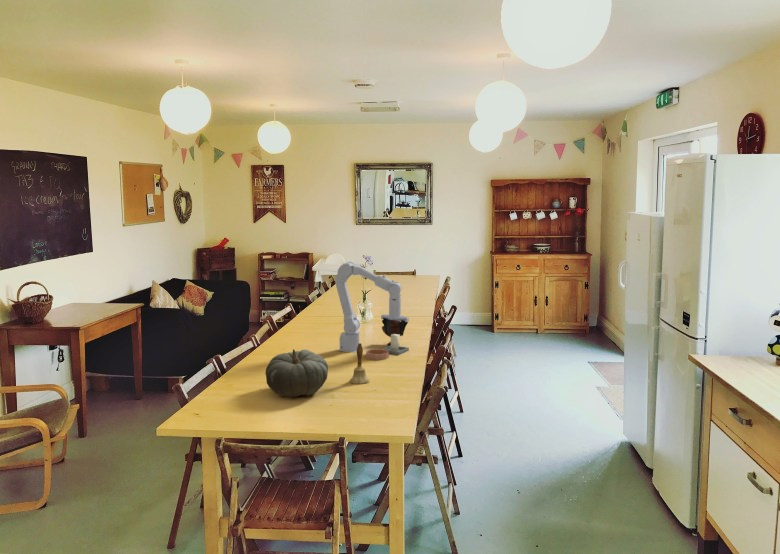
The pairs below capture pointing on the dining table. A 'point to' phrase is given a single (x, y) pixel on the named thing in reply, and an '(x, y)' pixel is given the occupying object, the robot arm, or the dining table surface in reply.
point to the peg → (394, 342)
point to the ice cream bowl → (392, 329)
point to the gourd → (296, 373)
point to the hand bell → (359, 369)
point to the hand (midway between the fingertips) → (394, 334)
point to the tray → (401, 350)
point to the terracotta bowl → (377, 354)
